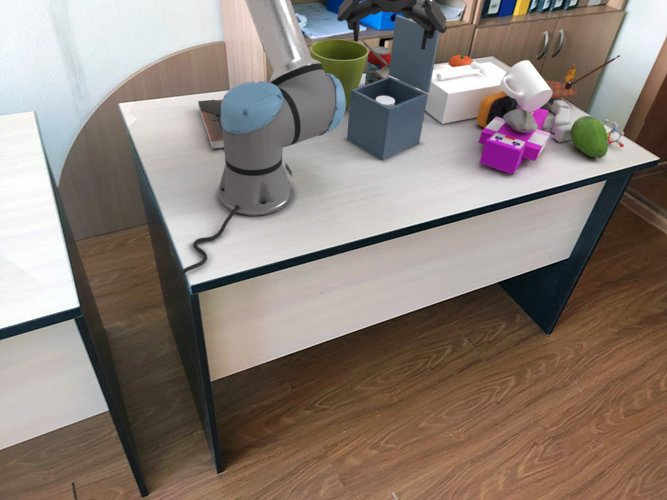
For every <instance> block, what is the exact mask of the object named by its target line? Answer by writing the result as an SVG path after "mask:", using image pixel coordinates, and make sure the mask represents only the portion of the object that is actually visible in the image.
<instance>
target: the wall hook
mask: <svg viewBox="0 0 667 500" xmlns="http://www.w3.org/2000/svg"><path fill="white" fill-rule="evenodd" d="M358 40H360V41H361V42H362V43H363V46H365V47H366V48H367V49H368V50H369V51H370V50H371V52H372V53H373V54H374V55H375V56H376V57H377V58H378V59H379V60H381V61H382V62H383V63H384V64H385V66H384V67H383V68H382V69H380V70H378V71H375V73H376V74H377V75H378V76H379V77H380V78H381V79H384V78H387V77H388V75H389V70H390V65H388V64H387V62H386V61H385V60H384V59H382V58H381V57H380V56H379V55H378V54H377V53H376V52H375V51H374V50H373V49H372V47H371V46H370V45H369V44H368V43H367V42H366V40H364V39H363V38H361V37H360V36H359V37H358ZM389 76H390V75H389Z"/></svg>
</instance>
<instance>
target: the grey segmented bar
mask: <svg viewBox="0 0 667 500" xmlns="http://www.w3.org/2000/svg"><path fill="white" fill-rule="evenodd" d="M569 106H570V105H569V104H568V103H567V102H566V101H564V100H563V98H554V99H553V102H552V105H551V107H550V111H551V112H552V113H553V114H554V115H555V116H554V119H553V121H552V124H551V134H554V135H553V139H554V140H555V141H556V142H558V143H562V142H566V141H572V139H571V128H572V126H573V124H574V123H572V124H571V123H570V121H571V113H572V110H571V108H570V107H569Z"/></svg>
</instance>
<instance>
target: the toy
mask: <svg viewBox="0 0 667 500" xmlns="http://www.w3.org/2000/svg"><path fill="white" fill-rule="evenodd" d="M518 109H522V108H521V107H519V108H518ZM530 114H531V115H532V117H533V118H534V120H535V122H536V124H537V125H538V128H537V130H534V131H532V132H528V133H522V132H518V131H515V130H514V129H512V128H511V126H510V125H509V124H507V123H506V122H505V120H504V119H502V118H499V117H495V118H494V119H493V120H492V121H491V122H490V123H489V124H488V126H487V127H486V128H483V130H482V131H481V132H480V136H479V139H478V144H481V145H483V149H482V152H481V155H480V159H479V162H478V163H479V164H482V165H484V166H487V167H490V168H493V169H496V170H498V171H501V172H505V173H508V174H510V175H514V174H515V173H516V172H517V170H518V169H519V167H520V166H521V164H522V163H523V162H524V160H525V159H526V160H529V161H533V162H536V161H537V160H538V158H539V157H540V155H541V153H542V152H543V151H544V149H545V148H546V147H547V144H548V142H549V139H550V137H551V134H552V132H547V131H545V130H542V129H543V128H544V125H545V122H546V120H547V117H548V115H549V110H547V109H543V108H541V107H540V108H539V109H537V110H535V111H533V112H530Z"/></svg>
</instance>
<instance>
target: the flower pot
mask: <svg viewBox="0 0 667 500" xmlns="http://www.w3.org/2000/svg"><path fill="white" fill-rule="evenodd" d="M368 53H369V49H368V48H367V47H366V46H365V45H364V44H362V43H359V42H355V41H354V40H348V39H341V38H330V39H329V38H328V39H323V40H320V41H319V40H318V41H317V42H313V43H312V44H311V46H310V55H311V57H312V58H313V59H315V60H317V61H319V62H321V64H322V67H323V69H324V72H325V73H328V74H332V75H334V76H335V77H336V78H337V79H338V80H339V81H340V83H341V84H342V87H343V89H344V93H345V99H346V109H345V112H346V111H349V108H350V96H351V90H353V89H356V88H358V87H360V84H361V81H362V78H363V74H364V71H365V67H366V64H367V57H368Z"/></svg>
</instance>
